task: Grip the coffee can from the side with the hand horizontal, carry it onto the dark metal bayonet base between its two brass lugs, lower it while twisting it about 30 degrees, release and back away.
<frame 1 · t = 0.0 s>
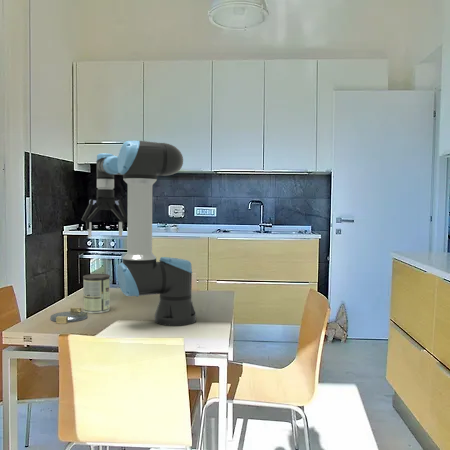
hand: (105, 236, 207), 28 cm above the table, tool pointing down, fingers open, 13 cm apart
lock base: (69, 318, 174), on the table
coffee can: (96, 311, 186), on the table
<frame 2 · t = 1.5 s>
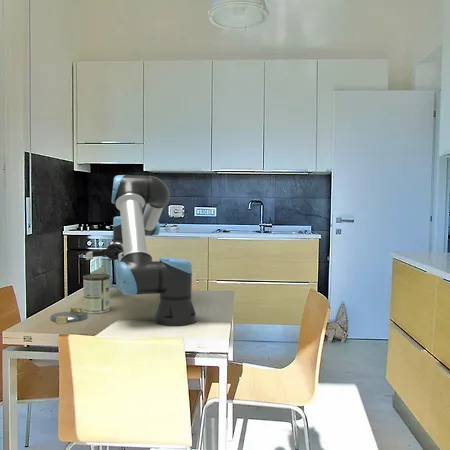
hand: (103, 257, 195), 20 cm above the table, tool horizontal, fingers open, 13 cm apart
nothing on the table moved.
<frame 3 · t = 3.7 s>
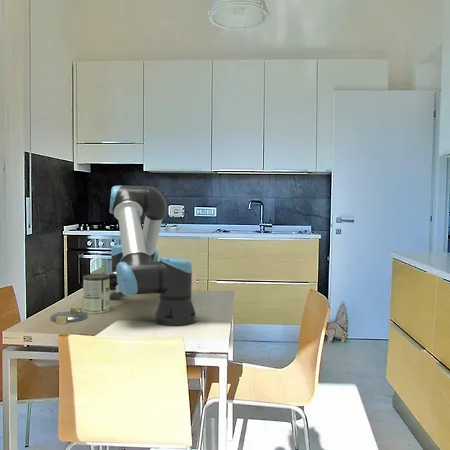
hand: (100, 289, 192), 7 cm above the table, tool horizontal, fingers open, 13 cm apart
nothing on the table moved.
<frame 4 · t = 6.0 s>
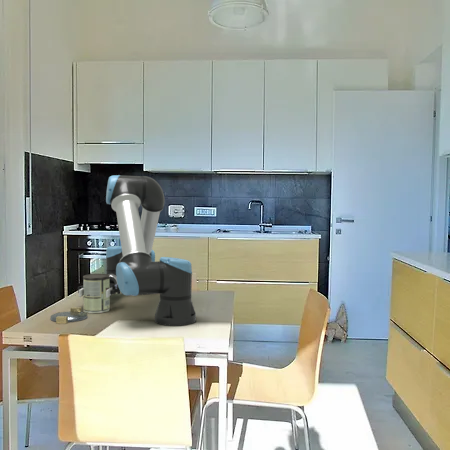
hand: (93, 293, 182), 8 cm above the table, tool horizontal, fingers closed on coffee can, 10 cm apart
coffee can: (96, 310, 186), on the table, touching gripper
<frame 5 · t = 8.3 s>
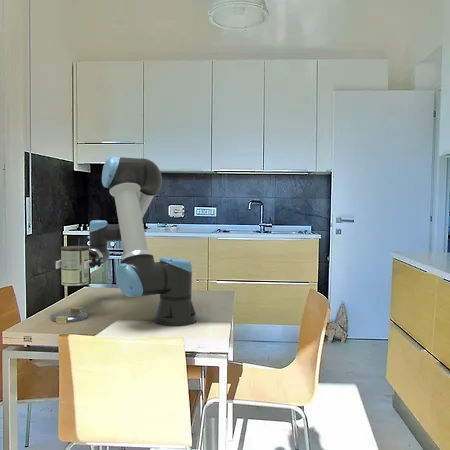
hand: (70, 265, 172), 20 cm above the table, tool horizontal, fingers closed on coffee can, 10 cm apart
coffee can: (75, 284, 177), point 12 cm above the table, touching gripper
when the fingers open (10 cm above the table, at t = 10.7 s): coffee can drops 1 cm, resting on lock base.
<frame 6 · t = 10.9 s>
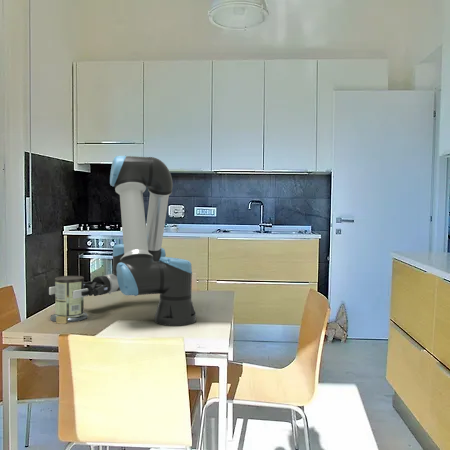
hand: (61, 292, 170), 10 cm above the table, tool horizontal, fingers open, 12 cm apart
coffee can: (69, 315, 174), point 1 cm above the table, touching lock base
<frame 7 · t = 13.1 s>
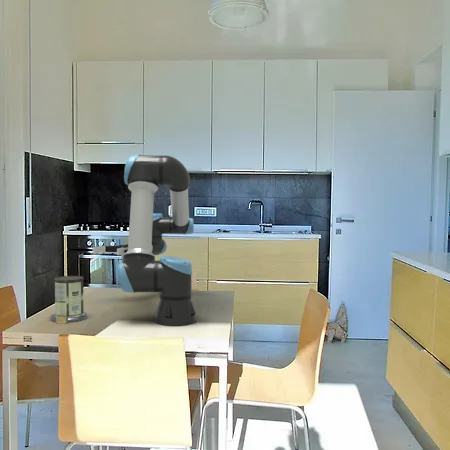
hand: (105, 251, 189), 24 cm above the table, tool horizontal, fingers open, 13 cm apart
nothing on the table moved.
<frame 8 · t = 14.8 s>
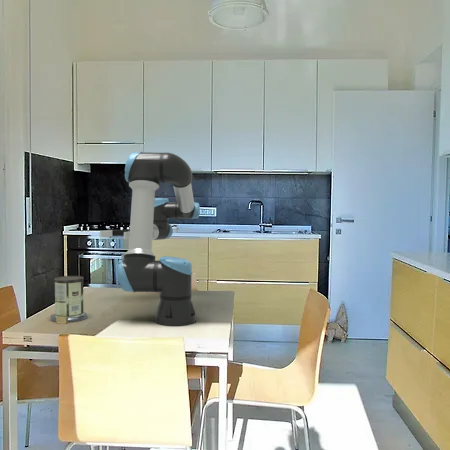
hand: (112, 234, 191), 30 cm above the table, tool horizontal, fingers open, 13 cm apart
nothing on the table moved.
at the end: coffee can 0.1 cm from the lock base (horizontally); coffee can tilted 0°; the gripper is holding nothing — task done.
